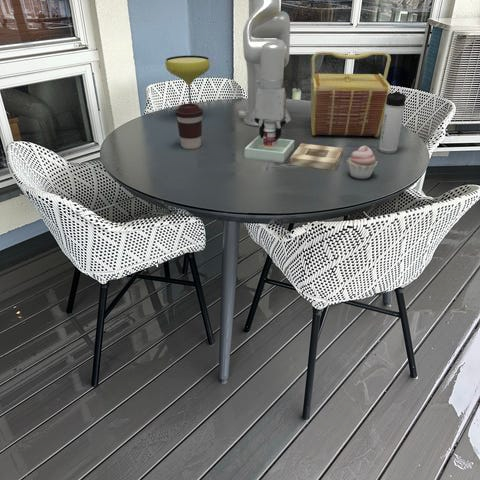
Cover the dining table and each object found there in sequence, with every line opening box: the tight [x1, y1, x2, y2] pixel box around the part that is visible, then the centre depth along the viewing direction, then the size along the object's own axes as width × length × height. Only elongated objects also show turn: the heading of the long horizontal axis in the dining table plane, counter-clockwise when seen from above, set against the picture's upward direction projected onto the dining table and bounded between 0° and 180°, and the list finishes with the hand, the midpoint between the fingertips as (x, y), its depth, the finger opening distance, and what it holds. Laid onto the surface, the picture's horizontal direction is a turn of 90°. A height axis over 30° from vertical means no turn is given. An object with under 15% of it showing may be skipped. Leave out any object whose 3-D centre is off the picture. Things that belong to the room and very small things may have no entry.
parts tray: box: [244, 135, 295, 164], centre depth 160 cm, size 14×14×4 cm
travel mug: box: [378, 91, 407, 155], centre depth 157 cm, size 6×7×20 cm
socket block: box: [289, 143, 344, 171], centre depth 155 cm, size 15×15×2 cm
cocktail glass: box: [165, 55, 211, 119], centre depth 191 cm, size 18×18×25 cm
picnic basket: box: [310, 50, 392, 138], centre depth 175 cm, size 29×26×30 cm
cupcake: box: [346, 145, 378, 180], centre depth 141 cm, size 9×9×10 cm
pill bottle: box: [263, 120, 277, 148], centre depth 157 cm, size 5×5×8 cm
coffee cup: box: [174, 102, 204, 150], centre depth 164 cm, size 10×10×15 cm
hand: (270, 137), depth 158 cm, fingers closed on pill bottle, 4 cm apart
